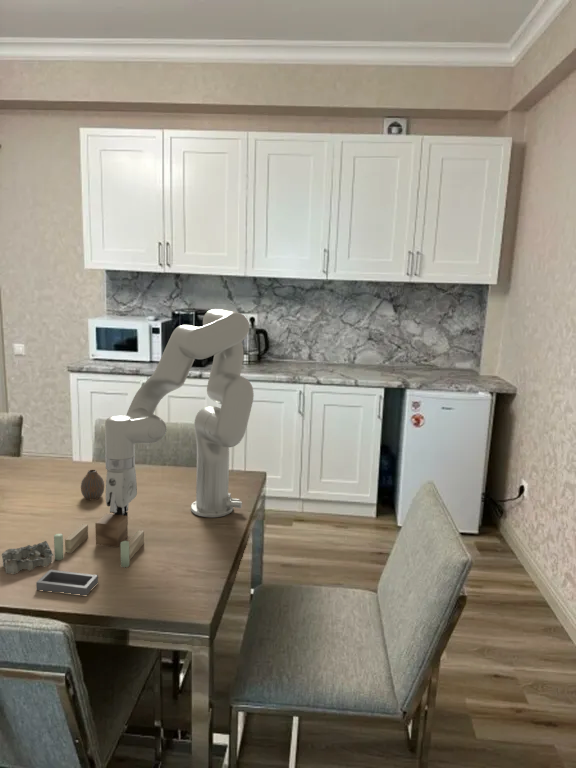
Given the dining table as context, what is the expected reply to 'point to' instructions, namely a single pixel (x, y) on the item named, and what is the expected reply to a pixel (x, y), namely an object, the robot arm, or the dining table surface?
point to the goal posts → (59, 550)
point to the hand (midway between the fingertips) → (120, 526)
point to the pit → (67, 582)
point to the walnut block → (111, 530)
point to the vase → (92, 485)
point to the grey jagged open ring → (14, 557)
